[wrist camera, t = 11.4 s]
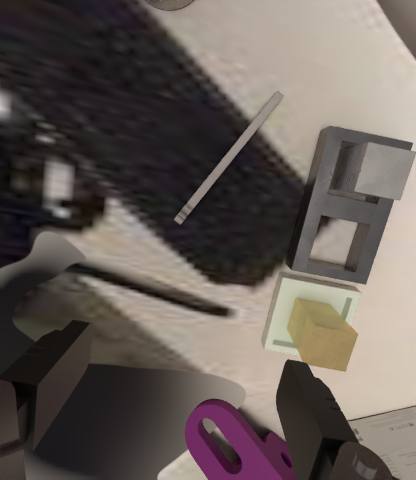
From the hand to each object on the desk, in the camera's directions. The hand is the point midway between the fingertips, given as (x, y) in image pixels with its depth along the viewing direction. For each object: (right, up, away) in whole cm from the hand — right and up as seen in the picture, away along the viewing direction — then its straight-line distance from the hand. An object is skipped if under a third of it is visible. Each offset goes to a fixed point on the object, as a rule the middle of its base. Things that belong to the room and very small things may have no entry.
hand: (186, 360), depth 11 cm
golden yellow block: (+15, -6, +29) cm, 33 cm away
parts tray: (+15, -6, +30) cm, 34 cm away
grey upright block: (+19, +14, +25) cm, 35 cm away
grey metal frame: (+18, +9, +26) cm, 33 cm away
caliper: (+3, +15, +26) cm, 30 cm away
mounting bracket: (+6, -27, +35) cm, 44 cm away
